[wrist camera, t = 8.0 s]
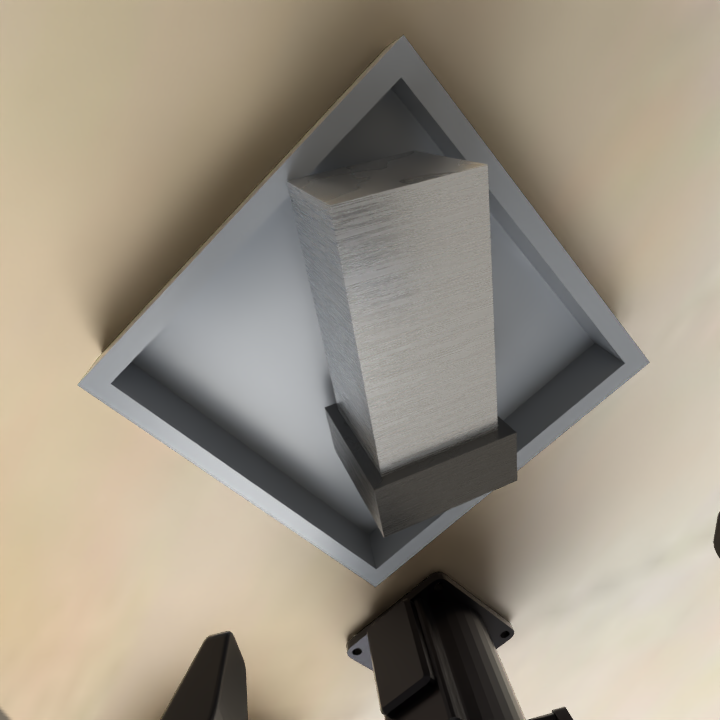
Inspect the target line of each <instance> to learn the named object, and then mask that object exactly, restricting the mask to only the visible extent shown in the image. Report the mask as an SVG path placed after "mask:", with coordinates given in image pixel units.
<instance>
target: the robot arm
mask: <svg viewBox="0 0 720 720" xmlns="http://www.w3.org/2000/svg"><path fill="white" fill-rule="evenodd" d="M713 543H714V548H715V551H716V553H717V555H718V556H719V558H720V512H719V514H718V517H717V523H716V529H715V535H714V541H713ZM437 583H438V584H437ZM513 635H514V630H513V628H512V626H511V624H510V623H509V622H508V621H507V620H505V619H504V618H503V617H501V616H500V615H499V614H497V613H496V612H495V611H493V610H492V609H491V608H489V607H488V606H487V605H485V604H484V603H483V602H481V601H480V600H479V599H477V598H476V597H475V596H473V595H472V594H471V593H469V592H468V591H467V590H465V589H464V588H463V587H461V586H460V585H459V584H457V583H456V582H455V581H453V580H452V579H451V578H449V577H448V576H447V575H445V574H444V573H441V572H437V573H434V574H432V575H430V576H429V577H428V578H426V579H425V580H424V581H423V582H421V583H420V584H419V585H418V586H417V587H415V588H414V589H413V590H412V591H410V592H409V593H408V594H407V595H405V596H404V597H403V598H402V599H400V600H399V601H398V602H397V603H395V604H394V605H393V606H392V607H390V608H389V609H388V610H387V611H385V612H384V613H383V614H382V615H380V616H379V617H378V618H377V619H375V620H374V621H373V622H372V623H370V624H369V625H368V626H367V627H366V628H364V629H363V630H362V631H361V632H359V633H358V634H357V635H356V636H354V637H353V638H352V639H351V640H349V641H348V643H347V645H346V648H347V654H348V656H349V657H350V658H352V659H353V660H355V661H357V662H359V663H360V664H362V665H364V666H365V667H367V668H369V669H371V670H372V671H374V676H375V682H376V687H377V693H378V698H379V704H380V710H381V712H382V714H384V717H385V720H526V719H525V717H524V715H523V712H522V710H521V708H520V705H519V703H518V700H517V698H516V696H515V693H514V691H513V689H512V686H511V684H510V681H509V679H508V677H507V674H506V672H505V670H504V667H503V665H502V663H501V660H500V658H499V655H498V653H497V651H496V649H497V648H498V647H500V646H501V645H502V644H504V643H505V642H506V641H508V640H509V639H510V638H511V637H512V636H513ZM160 720H248V713H247V685H246V669H245V663H244V660H243V657H242V655H241V652H240V650H239V647H238V645H237V642H236V640H235V637H234V635H233V634H232V633H231V632H230V631H225V632H221V633H217V634H213V635H210V636H208V637H207V638H206V639H205V640H204V642H203V644H202V646H201V647H200V649H199V651H198V653H197V655H196V656H195V658H194V660H193V662H192V664H191V665H190V667H189V669H188V671H187V673H186V674H185V676H184V678H183V680H182V682H181V683H180V685H179V687H178V689H177V691H176V692H175V694H174V696H173V698H172V700H171V701H170V703H169V705H168V707H167V709H166V710H165V712H164V714H163V716H162V717H161V719H160ZM529 720H573V718H572V717H571V715H570V714H569V712H568V711H567V709H566V708H565V707H562V708H558V709H555V710H552V713H550V714H546V715H543V716H539V717H536V718H532V719H529Z"/></svg>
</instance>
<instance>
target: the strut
mask: <svg viewBox="0 0 720 720" xmlns="http://www.w3.org/2000/svg"><path fill="white" fill-rule="evenodd" d="M287 186H288V190H289V195H290V199H291V203H292V208H293V212H294V217H295V221H296V226H297V230H298V234H299V239H300V243H301V248H302V252H303V256H304V261H305V265H306V270H307V274H308V278H309V283H310V287H311V292H312V296H313V301H314V305H315V309H316V314H317V318H318V323H319V327H320V331H321V336H322V340H323V345H324V349H325V354H326V358H327V362H328V367H329V371H330V376H331V380H332V384H333V389H334V393H335V398H336V402H337V403H335V404H332V405H330V406H327V407H324V408H325V412H326V416H327V420H328V424H329V429H330V433H331V437H332V441H333V445H334V449H335V451H336V453H337V455H338V457H339V458H340V460H341V462H342V464H343V465H344V467H345V469H346V471H347V473H348V474H349V476H350V478H351V480H352V481H353V483H354V485H355V487H356V489H357V490H358V492H359V494H360V496H361V497H362V499H363V501H364V503H365V505H366V506H367V508H368V510H369V512H370V514H371V515H372V517H373V519H374V521H375V522H376V524H377V526H378V528H379V530H380V531H381V533H382V535H383V537H384V538H385V537H387V536H389V535H392V534H394V533H396V532H399V531H401V530H403V529H406V528H408V527H410V526H412V525H415V524H417V523H419V522H422V521H424V520H426V519H429V518H431V517H433V516H436V515H438V514H440V513H443V512H445V511H447V510H450V509H452V508H454V507H456V506H459V505H461V504H463V503H466V502H468V501H470V500H473V499H475V498H477V497H480V496H482V495H484V494H487V493H489V492H491V491H493V490H496V489H498V488H500V487H503V486H505V485H507V484H510V483H512V482H514V481H517V432H515V431H514V430H513V429H512V428H511V427H510V426H509V425H508V424H506V423H505V422H504V421H503V420H502V419H501V418H500V417H498V416H497V393H496V367H495V341H494V315H493V288H492V262H491V236H490V210H489V184H488V164H482V163H477V162H472V161H466V160H461V159H456V158H450V157H445V156H439V155H434V154H429V153H423V152H418V151H409V152H405V153H401V154H397V155H393V156H389V157H385V158H381V159H376V160H372V161H368V162H364V163H360V164H356V165H352V166H347V167H343V168H339V169H335V170H331V171H327V172H323V173H319V174H314V175H310V176H306V177H302V178H298V179H294V180H290V181H287Z"/></svg>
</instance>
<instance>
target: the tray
mask: <svg viewBox="0 0 720 720" xmlns="http://www.w3.org/2000/svg"><path fill="white" fill-rule="evenodd" d="M409 151H418V152H423V153H429V154H434V155H439V156H445V157H450V158H456V159H461V160H466V161H472V162H477V163H482V164H488V184H489V210H490V236H491V262H492V288H493V315H494V341H495V367H496V393H497V416H498V417H500V418H501V419H502V420H503V421H504V422H505V423H506V424H508V425H509V426H510V427H511V428H512V429H513V430H514V431H515V432H517V471H518V470H519V469H520V468H521V467H523V466H524V465H525V464H526V463H528V462H529V461H530V460H531V459H532V458H534V457H535V456H536V455H537V454H539V453H540V452H541V451H542V450H543V449H545V448H546V447H547V446H548V445H549V444H551V443H552V442H553V441H554V440H556V439H557V438H558V437H559V436H560V435H562V434H563V433H564V432H565V431H567V430H568V429H569V428H570V427H571V426H573V425H574V424H575V423H576V422H578V421H579V420H580V419H581V418H582V417H584V416H585V415H586V414H587V413H589V412H590V411H591V410H592V409H593V408H595V407H596V406H597V405H598V404H600V403H601V402H602V401H603V400H604V399H606V398H607V397H608V396H609V395H610V394H612V393H613V392H614V391H615V390H617V389H618V388H619V387H620V386H621V385H623V384H624V383H625V382H626V381H628V380H629V379H630V378H631V377H632V376H634V375H635V374H636V373H637V372H639V371H640V370H641V369H642V368H643V367H645V366H646V365H647V364H648V363H650V362H649V361H648V359H647V358H646V357H645V355H644V354H643V353H642V351H641V350H640V349H639V347H638V346H637V345H636V343H635V342H634V341H633V339H632V338H631V337H630V335H629V334H628V333H627V331H626V330H625V329H624V327H623V326H622V325H621V323H620V322H619V321H618V319H617V318H616V317H615V315H614V314H613V313H612V311H611V310H610V309H609V308H608V306H607V305H606V304H605V302H604V301H603V300H602V298H601V297H600V296H599V294H598V293H597V292H596V290H595V289H594V288H593V286H592V285H591V284H590V282H589V281H588V280H587V278H586V277H585V276H584V274H583V273H582V272H581V270H580V269H579V268H578V266H577V265H576V264H575V262H574V261H573V260H572V258H571V257H570V256H569V254H568V253H567V252H566V250H565V249H564V248H563V246H562V245H561V244H560V242H559V241H558V240H557V238H556V237H555V236H554V234H553V233H552V232H551V230H550V229H549V228H548V226H547V225H546V224H545V222H544V221H543V220H542V218H541V217H540V216H539V214H538V213H537V212H536V210H535V209H534V208H533V206H532V205H531V204H530V202H529V201H528V200H527V198H526V197H525V196H524V194H523V193H522V192H521V190H520V189H519V188H518V186H517V185H516V184H515V182H514V181H513V180H512V178H511V177H510V176H509V174H508V173H507V172H506V170H505V169H504V168H503V166H502V165H501V164H500V163H499V161H498V160H497V159H496V157H495V156H494V155H493V153H492V152H491V151H490V149H489V148H488V147H487V145H486V144H485V143H484V141H483V140H482V139H481V137H480V136H479V135H478V133H477V132H476V131H475V129H474V128H473V127H472V125H471V124H470V123H469V121H468V120H467V119H466V117H465V116H464V115H463V113H462V112H461V111H460V109H459V108H458V107H457V105H456V104H455V103H454V101H453V100H452V99H451V97H450V96H449V95H448V93H447V92H446V91H445V89H444V88H443V87H442V85H441V84H440V83H439V81H438V80H437V79H436V77H435V76H434V75H433V73H432V72H431V71H430V69H429V68H428V67H427V65H426V64H425V63H424V61H423V60H422V59H421V57H420V56H419V55H418V53H417V52H416V51H415V49H414V48H413V47H412V45H411V44H410V43H409V41H408V40H407V39H406V37H405V36H404V35H402V36H401V37H400V38H398V39H397V40H396V41H394V42H393V43H392V44H390V45H389V46H388V47H386V48H385V49H384V50H383V51H382V52H381V54H380V55H379V56H378V57H377V58H376V59H375V60H374V61H373V62H372V63H371V64H370V65H369V66H368V68H367V69H366V70H365V71H364V72H363V73H362V74H361V75H360V76H359V77H358V78H357V79H356V80H355V82H354V83H353V84H352V85H351V86H350V87H349V88H348V89H347V90H346V91H345V92H344V93H343V94H342V96H341V97H340V98H339V99H338V100H337V101H336V102H335V103H334V104H333V105H332V106H331V107H330V108H329V110H328V111H327V112H326V113H325V114H324V115H323V116H322V117H321V118H320V119H319V120H318V121H317V122H316V124H315V125H314V126H313V127H312V128H311V129H310V130H309V131H308V132H307V133H306V134H305V135H304V136H303V138H302V139H301V140H300V141H299V142H298V143H297V144H296V145H295V146H294V147H293V148H292V149H291V150H290V152H289V153H288V154H287V155H286V156H285V157H284V158H283V159H282V160H281V161H280V162H279V163H278V164H277V165H276V167H275V168H274V169H273V170H272V171H271V172H270V173H269V174H268V175H267V176H266V177H265V178H264V179H263V181H262V182H261V183H260V184H259V185H258V186H257V187H256V188H255V189H254V190H253V191H252V192H251V193H250V195H249V196H248V197H247V198H246V199H245V200H244V201H243V202H242V203H241V204H240V205H239V206H238V207H237V209H236V210H235V211H234V212H233V213H232V214H231V215H230V216H229V217H228V218H227V219H226V220H225V221H224V223H223V224H222V225H221V226H220V227H219V228H218V229H217V230H216V231H215V232H214V233H213V234H212V235H211V237H210V238H209V239H208V240H207V241H206V242H205V243H204V244H203V245H202V246H201V247H200V248H199V249H198V251H197V252H196V253H195V254H194V255H193V256H192V257H191V258H190V259H189V260H188V261H187V262H186V263H185V265H184V266H183V267H182V268H181V269H180V270H179V271H178V272H177V273H176V274H175V275H174V276H173V277H172V279H171V280H170V281H169V282H168V283H167V284H166V285H165V286H164V287H163V288H162V289H161V290H160V291H159V292H158V294H157V295H156V296H155V297H154V298H153V299H152V300H151V301H150V302H149V303H148V304H147V305H146V306H145V308H144V309H143V310H142V311H141V312H140V313H139V314H138V315H137V316H136V317H135V318H134V319H133V320H132V322H131V323H130V324H129V325H128V326H127V327H126V328H125V329H124V330H123V331H122V332H121V333H120V334H119V336H118V337H117V338H116V339H115V340H114V341H113V342H112V343H111V344H110V345H109V346H108V347H107V348H106V350H105V351H104V352H103V353H102V354H101V355H100V356H99V358H98V359H97V360H96V362H95V363H94V364H93V365H92V367H91V368H90V369H89V371H88V372H87V373H86V374H85V376H84V377H83V378H82V379H81V381H80V382H79V383H78V386H79V387H81V388H82V389H84V390H85V391H87V392H88V393H90V394H91V395H93V396H94V397H96V398H97V399H99V400H100V401H102V402H103V403H104V404H106V405H107V406H109V407H110V408H112V409H113V410H115V411H116V412H118V413H119V414H121V415H122V416H124V417H125V418H127V419H128V420H130V421H131V422H133V423H134V424H135V425H137V426H138V427H140V428H141V429H143V430H144V431H146V432H147V433H149V434H150V435H152V436H153V437H155V438H156V439H158V440H159V441H161V442H162V443H164V444H165V445H166V446H168V447H169V448H171V449H172V450H174V451H175V452H177V453H178V454H180V455H181V456H183V457H184V458H186V459H187V460H189V461H190V462H192V463H193V464H195V465H196V466H197V467H199V468H200V469H202V470H203V471H205V472H206V473H208V474H209V475H211V476H212V477H214V478H215V479H217V480H218V481H220V482H221V483H223V484H224V485H225V486H227V487H228V488H230V489H231V490H233V491H234V492H236V493H237V494H239V495H240V496H242V497H243V498H245V499H246V500H248V501H249V502H251V503H252V504H254V505H255V506H256V507H258V508H259V509H261V510H262V511H264V512H265V513H267V514H268V515H270V516H271V517H273V518H274V519H276V520H277V521H279V522H280V523H282V524H283V525H285V526H286V527H287V528H289V529H290V530H292V531H293V532H295V533H296V534H298V535H299V536H301V537H302V538H304V539H305V540H307V541H308V542H310V543H311V544H313V545H314V546H315V547H317V548H318V549H320V550H321V551H323V552H324V553H326V554H327V555H329V556H330V557H332V558H333V559H335V560H336V561H338V562H339V563H341V564H342V565H344V566H345V567H346V568H348V569H349V570H351V571H352V572H354V573H355V574H357V575H358V576H360V577H361V578H363V579H364V580H366V581H367V582H369V583H370V584H372V585H373V586H375V587H376V586H377V585H379V584H380V583H381V582H382V581H384V580H385V579H386V578H387V577H388V576H390V575H391V574H392V573H393V572H395V571H396V570H397V569H398V568H399V567H401V566H402V565H403V564H404V563H406V562H407V561H408V560H409V559H410V558H412V557H413V556H414V555H415V554H417V553H418V552H419V551H420V550H421V549H423V548H424V547H425V546H426V545H428V544H429V543H430V542H431V541H432V540H434V539H435V538H436V537H437V536H438V535H440V534H441V533H442V532H443V531H445V530H446V529H447V528H448V527H449V526H451V525H452V524H453V523H454V522H456V521H457V520H458V519H459V518H460V517H462V516H463V515H464V514H465V513H467V512H468V511H469V510H470V509H471V508H473V507H474V506H475V505H476V504H478V503H479V502H480V501H481V500H482V499H484V498H485V497H486V496H487V495H488V494H490V493H491V492H492V491H491V492H489V493H487V494H484V495H482V496H480V497H477V498H475V499H473V500H470V501H468V502H466V503H463V504H461V505H459V506H456V507H454V508H452V509H450V510H447V511H445V512H443V513H440V514H438V515H436V516H433V517H431V518H429V519H426V520H424V521H422V522H419V523H417V524H415V525H412V526H410V527H408V528H406V529H403V530H401V531H399V532H396V533H394V534H392V535H389V536H387V537H385V538H384V537H383V535H382V533H381V531H380V530H379V528H378V526H377V524H376V522H375V521H374V519H373V517H372V515H371V514H370V512H369V510H368V508H367V506H366V505H365V503H364V501H363V499H362V497H361V496H360V494H359V492H358V490H357V489H356V487H355V485H354V483H353V481H352V480H351V478H350V476H349V474H348V473H347V471H346V469H345V467H344V465H343V464H342V462H341V460H340V458H339V457H338V455H337V453H336V451H335V449H334V445H333V441H332V437H331V433H330V429H329V424H328V420H327V416H326V412H325V408H324V407H327V406H330V405H332V404H335V403H337V402H336V398H335V393H334V389H333V384H332V380H331V376H330V371H329V367H328V362H327V358H326V354H325V349H324V345H323V340H322V336H321V331H320V327H319V323H318V318H317V314H316V309H315V305H314V301H313V296H312V292H311V287H310V283H309V278H308V274H307V270H306V265H305V261H304V256H303V252H302V248H301V243H300V239H299V234H298V230H297V226H296V221H295V217H294V212H293V208H292V203H291V199H290V195H289V190H288V186H287V181H290V180H294V179H298V178H302V177H306V176H310V175H314V174H319V173H323V172H327V171H331V170H335V169H339V168H343V167H347V166H352V165H356V164H360V163H364V162H368V161H372V160H376V159H381V158H385V157H389V156H393V155H397V154H401V153H405V152H409Z"/></svg>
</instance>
